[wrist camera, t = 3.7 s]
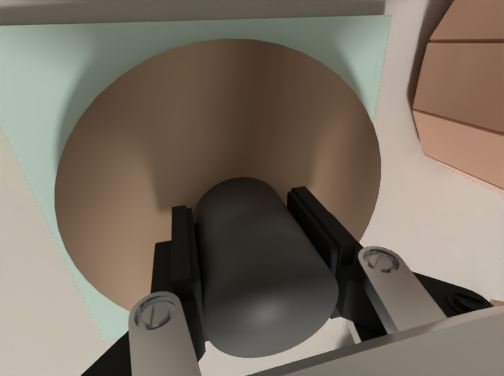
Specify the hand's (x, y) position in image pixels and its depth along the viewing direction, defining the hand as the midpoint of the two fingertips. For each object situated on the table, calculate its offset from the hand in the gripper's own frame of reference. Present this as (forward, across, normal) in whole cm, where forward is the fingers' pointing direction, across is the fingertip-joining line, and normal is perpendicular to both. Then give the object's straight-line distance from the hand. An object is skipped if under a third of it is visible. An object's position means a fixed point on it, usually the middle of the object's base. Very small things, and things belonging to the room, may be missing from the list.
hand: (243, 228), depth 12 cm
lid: (+2, 0, 0) cm, 2 cm away
